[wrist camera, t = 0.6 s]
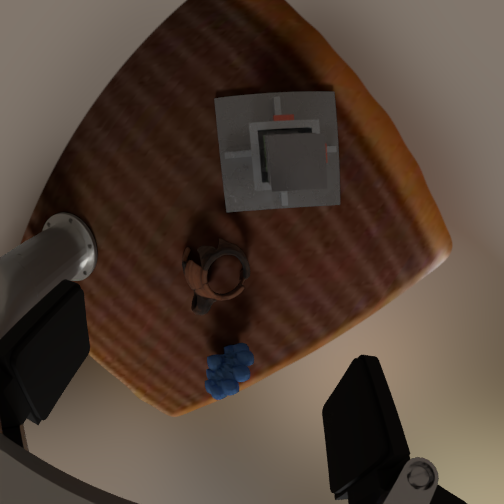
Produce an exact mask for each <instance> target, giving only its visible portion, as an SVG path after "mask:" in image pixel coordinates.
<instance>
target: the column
mask: <svg viewBox="0 0 504 504" xmlns="http://www.w3.org/2000/svg"><path fill="white" fill-rule="evenodd" d="M263 142H264V154H265V166H266V172H268V180H269V185H271V189H272V192H276V191H291V190H309V189H327V165H326V146H325V133H323V134H316V133H291V134H273V135H263Z"/></svg>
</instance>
